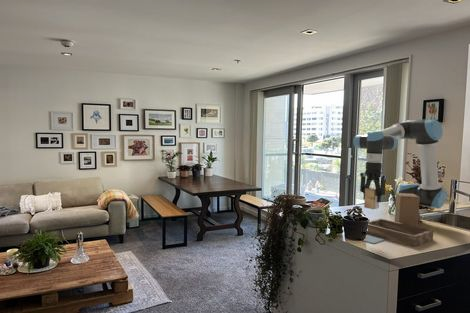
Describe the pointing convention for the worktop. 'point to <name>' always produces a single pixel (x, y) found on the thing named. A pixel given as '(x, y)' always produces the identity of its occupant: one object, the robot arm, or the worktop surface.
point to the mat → (373, 239)
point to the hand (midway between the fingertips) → (371, 207)
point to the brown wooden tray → (399, 232)
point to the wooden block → (407, 209)
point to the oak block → (370, 198)
